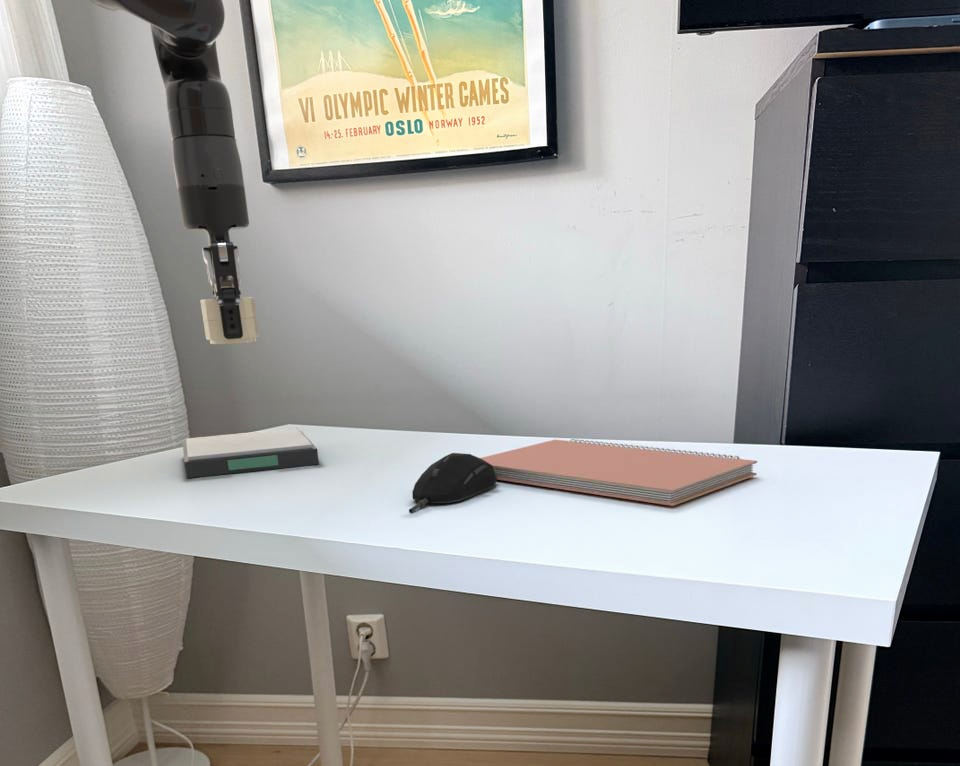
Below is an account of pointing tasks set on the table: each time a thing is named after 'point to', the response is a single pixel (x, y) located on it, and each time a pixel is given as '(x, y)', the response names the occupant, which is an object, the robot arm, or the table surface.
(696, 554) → the table surface
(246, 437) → the scale
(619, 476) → the notebook
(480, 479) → the gaming mouse
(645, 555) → the table surface
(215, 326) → the container
